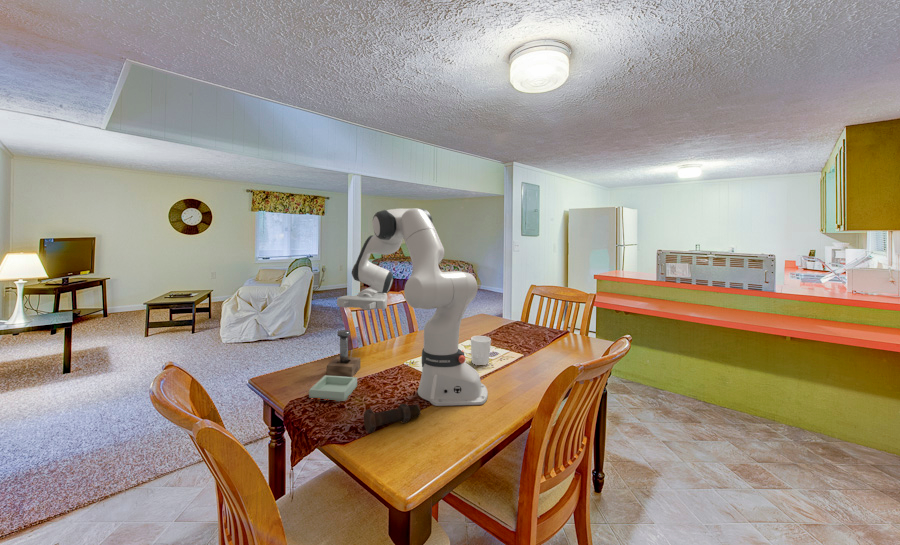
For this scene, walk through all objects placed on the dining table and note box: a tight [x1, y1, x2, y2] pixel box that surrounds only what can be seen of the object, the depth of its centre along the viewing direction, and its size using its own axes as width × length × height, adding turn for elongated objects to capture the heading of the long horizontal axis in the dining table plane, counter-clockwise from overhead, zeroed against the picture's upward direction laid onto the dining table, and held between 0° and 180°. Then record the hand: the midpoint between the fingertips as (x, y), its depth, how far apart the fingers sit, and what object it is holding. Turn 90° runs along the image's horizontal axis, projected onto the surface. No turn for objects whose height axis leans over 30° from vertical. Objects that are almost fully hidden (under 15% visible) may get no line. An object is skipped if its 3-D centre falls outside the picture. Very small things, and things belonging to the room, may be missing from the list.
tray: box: [308, 374, 358, 402], centre depth 112 cm, size 11×11×3 cm
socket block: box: [326, 355, 361, 377], centre depth 128 cm, size 9×9×4 cm
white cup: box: [470, 335, 492, 366], centre depth 141 cm, size 8×8×10 cm
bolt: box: [363, 403, 422, 434], centre depth 95 cm, size 6×5×15 cm
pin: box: [336, 329, 351, 364], centre depth 127 cm, size 4×4×15 cm
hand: (356, 306), depth 139 cm, fingers open, 8 cm apart
